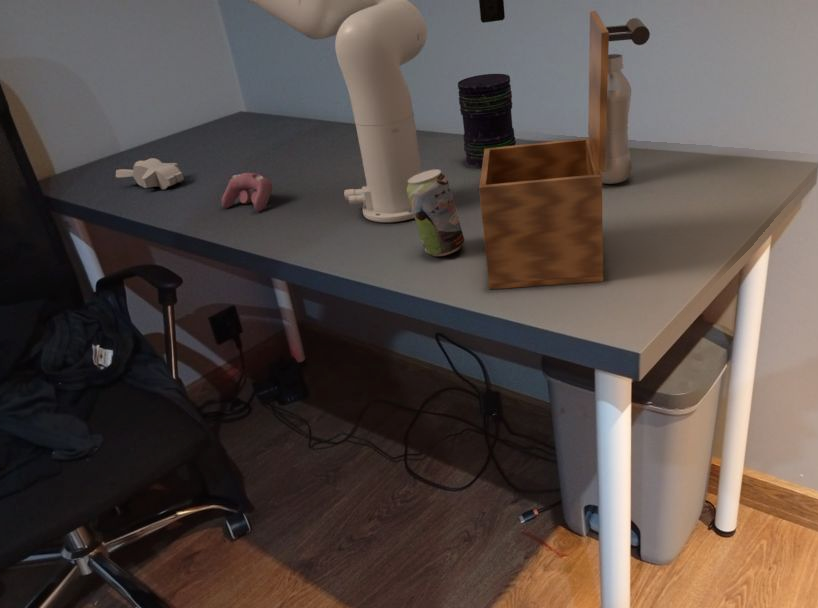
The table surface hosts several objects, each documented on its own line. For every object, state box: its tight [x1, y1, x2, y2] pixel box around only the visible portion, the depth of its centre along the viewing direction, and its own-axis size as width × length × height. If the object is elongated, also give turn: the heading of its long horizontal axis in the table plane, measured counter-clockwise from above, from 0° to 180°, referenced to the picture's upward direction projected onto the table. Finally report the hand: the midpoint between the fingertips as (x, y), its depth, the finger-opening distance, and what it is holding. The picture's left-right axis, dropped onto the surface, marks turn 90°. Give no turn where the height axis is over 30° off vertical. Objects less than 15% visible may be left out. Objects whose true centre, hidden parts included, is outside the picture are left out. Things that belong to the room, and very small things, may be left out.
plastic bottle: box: [601, 53, 633, 185], centre depth 118 cm, size 6×7×20 cm
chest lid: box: [587, 10, 651, 172], centre depth 89 cm, size 15×16×6 cm
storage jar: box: [457, 73, 517, 169], centre depth 138 cm, size 10×10×15 cm
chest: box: [478, 137, 604, 290], centre depth 98 cm, size 15×16×14 cm
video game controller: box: [221, 172, 274, 212], centre depth 137 cm, size 10×5×7 cm, turn 60°
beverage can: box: [407, 168, 465, 257], centre depth 105 cm, size 6×7×12 cm
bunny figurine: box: [115, 157, 185, 191], centre depth 157 cm, size 10×5×15 cm
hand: (492, 15), depth 102 cm, fingers open, 9 cm apart
